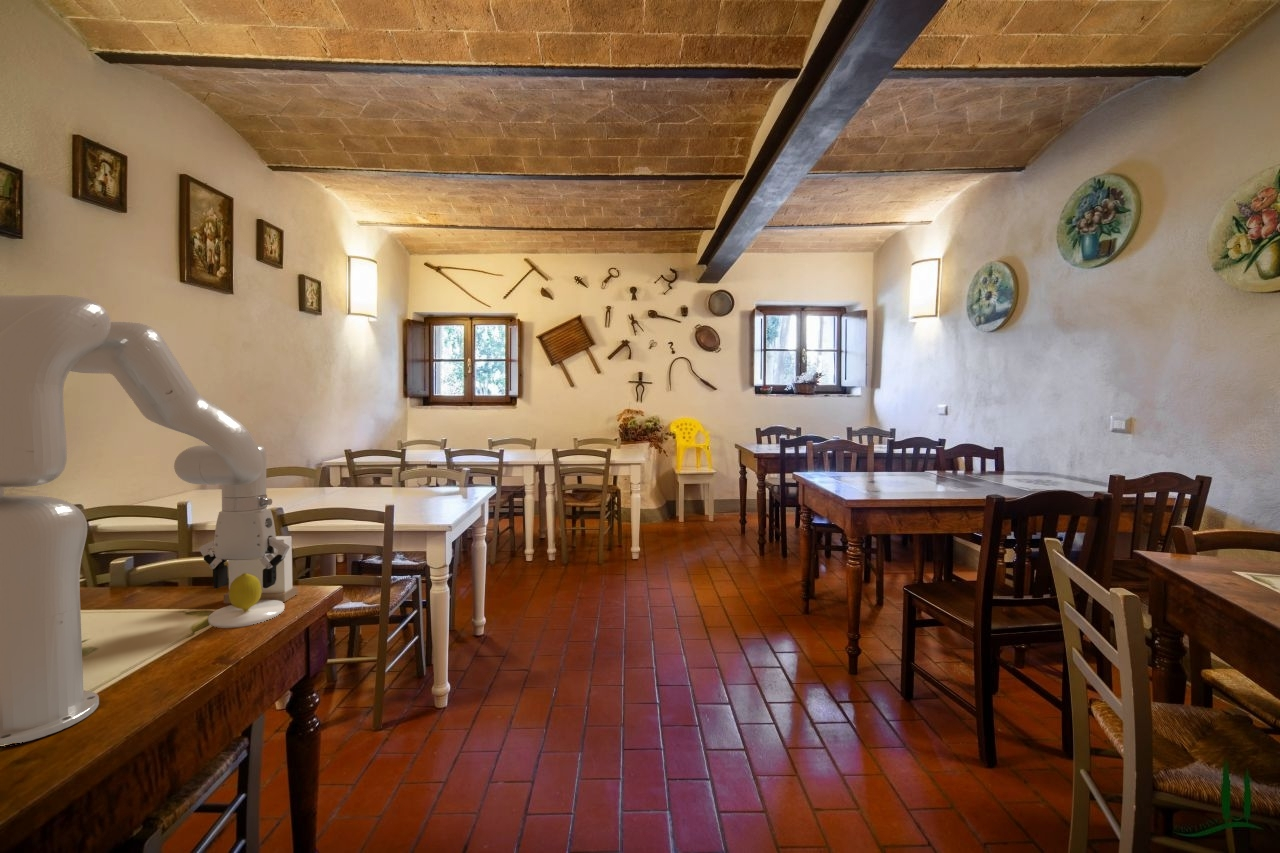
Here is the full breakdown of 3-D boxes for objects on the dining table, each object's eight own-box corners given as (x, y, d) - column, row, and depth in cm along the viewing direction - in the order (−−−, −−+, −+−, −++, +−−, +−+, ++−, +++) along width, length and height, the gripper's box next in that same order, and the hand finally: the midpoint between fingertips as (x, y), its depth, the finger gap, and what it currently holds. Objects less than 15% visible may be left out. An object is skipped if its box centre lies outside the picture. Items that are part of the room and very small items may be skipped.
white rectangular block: (284, 603, 123) (283, 540, 122) (223, 603, 122) (222, 540, 122) (297, 595, 128) (296, 535, 127) (239, 595, 127) (237, 535, 127)
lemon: (249, 616, 113) (247, 577, 112) (222, 615, 113) (221, 577, 112) (268, 605, 118) (267, 569, 118) (243, 605, 118) (241, 568, 118)
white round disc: (260, 627, 110) (260, 622, 110) (191, 628, 109) (191, 623, 109) (297, 603, 123) (297, 599, 123) (236, 604, 122) (236, 599, 122)
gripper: (297, 501, 119) (298, 580, 119) (214, 501, 118) (214, 581, 118) (276, 507, 111) (277, 592, 112) (187, 507, 110) (187, 592, 111)
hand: (244, 586), depth 115 cm, fingers open, 9 cm apart
